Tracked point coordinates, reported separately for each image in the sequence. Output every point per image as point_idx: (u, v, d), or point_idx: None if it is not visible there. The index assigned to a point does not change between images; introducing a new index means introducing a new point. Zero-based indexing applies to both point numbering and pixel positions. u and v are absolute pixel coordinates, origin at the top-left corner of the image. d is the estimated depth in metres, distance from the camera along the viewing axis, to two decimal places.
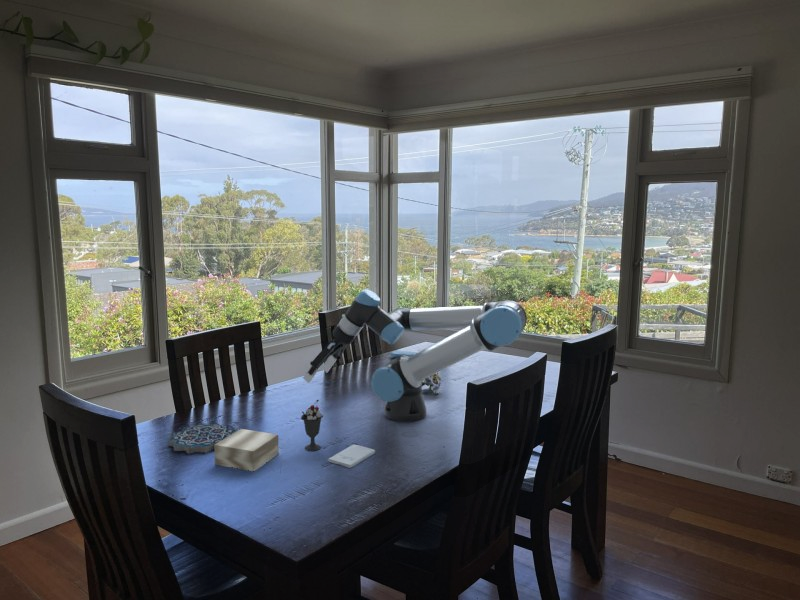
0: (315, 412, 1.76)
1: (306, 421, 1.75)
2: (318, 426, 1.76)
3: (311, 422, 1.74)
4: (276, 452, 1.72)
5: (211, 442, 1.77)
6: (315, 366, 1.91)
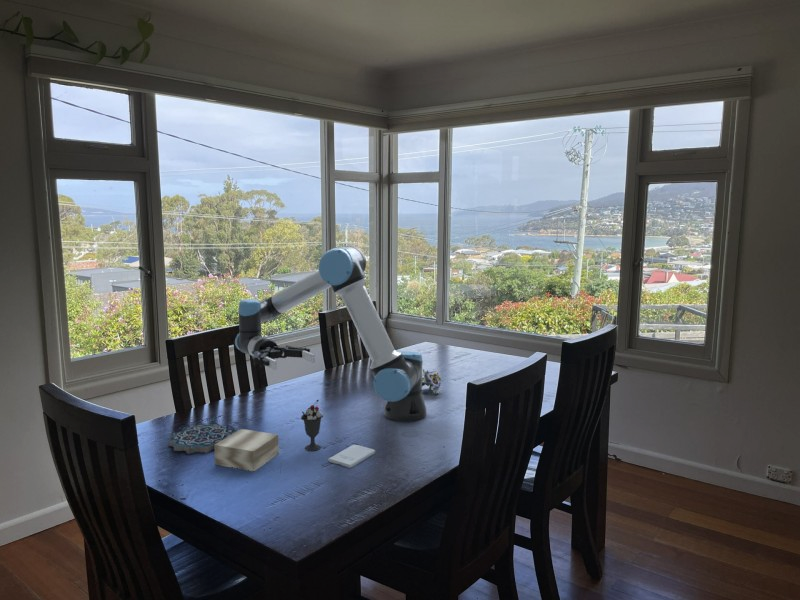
0: (315, 412, 1.76)
1: (306, 421, 1.75)
2: (318, 426, 1.76)
3: (311, 422, 1.74)
4: (276, 452, 1.72)
5: (211, 442, 1.77)
6: None
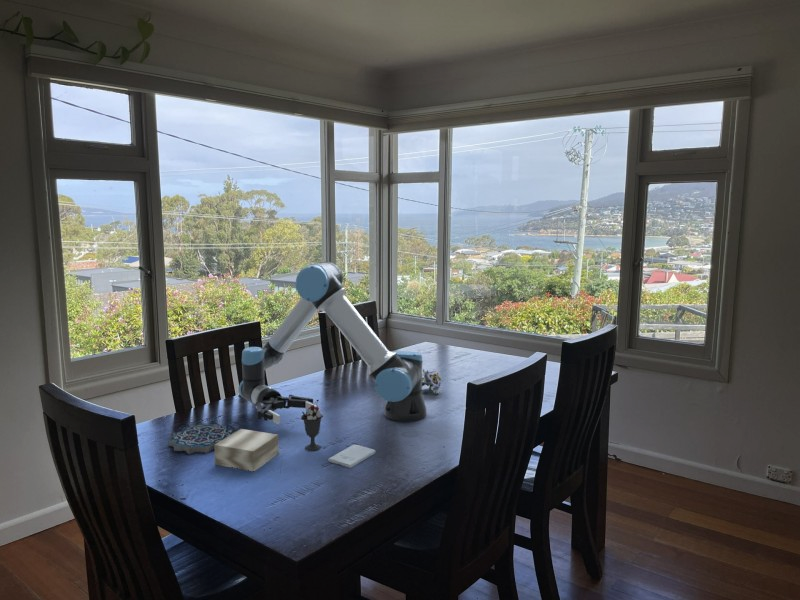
0: (315, 412, 1.76)
1: (306, 421, 1.75)
2: (318, 426, 1.76)
3: (311, 422, 1.74)
4: (276, 452, 1.72)
5: (211, 442, 1.77)
6: None
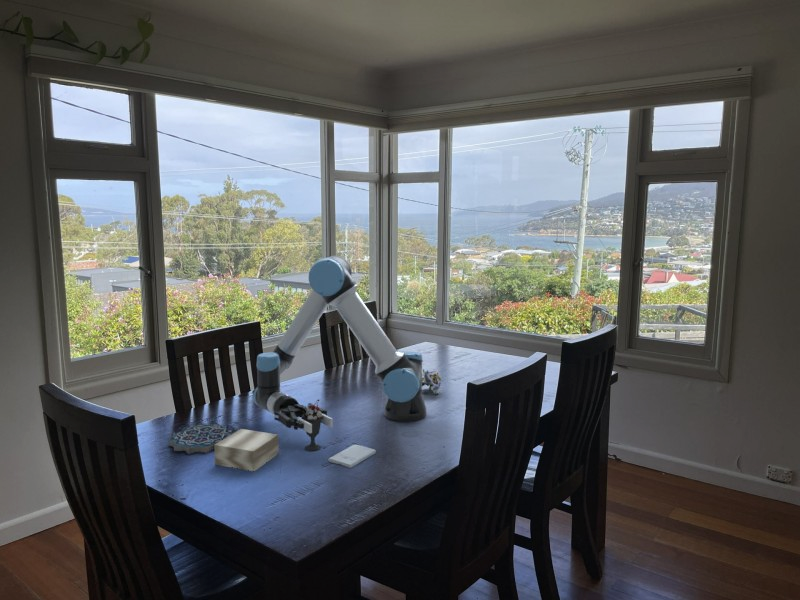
0: (316, 412, 1.76)
1: None
2: (318, 426, 1.76)
3: (311, 422, 1.74)
4: (276, 452, 1.72)
5: (211, 442, 1.77)
6: (287, 421, 1.75)
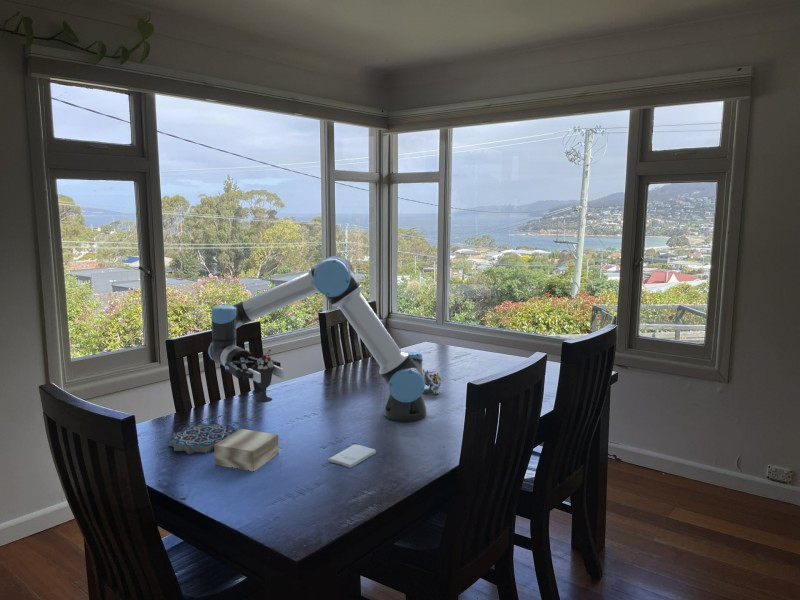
0: (266, 362, 1.68)
1: None
2: (269, 377, 1.69)
3: (261, 372, 1.67)
4: (276, 452, 1.72)
5: (211, 442, 1.77)
6: (236, 371, 1.67)
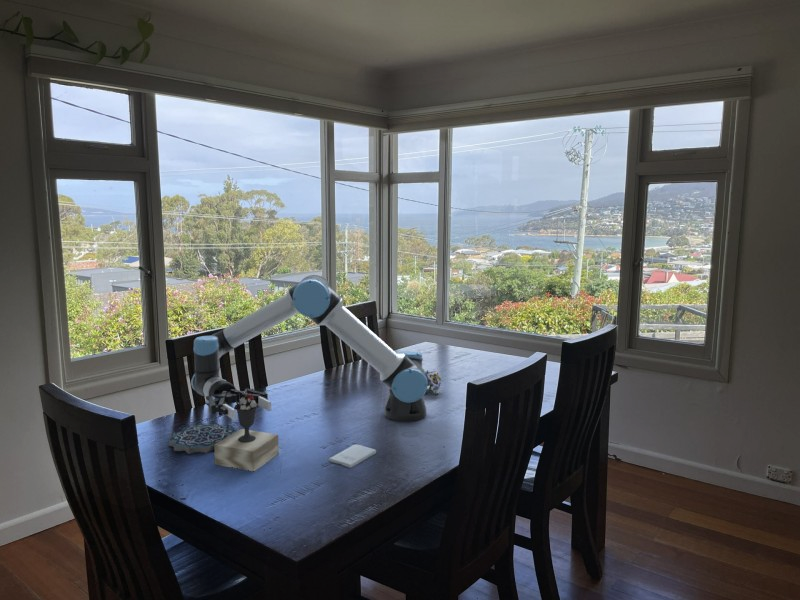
0: (249, 402, 1.66)
1: (239, 411, 1.65)
2: (252, 416, 1.67)
3: (244, 413, 1.65)
4: (276, 452, 1.72)
5: (211, 442, 1.77)
6: (211, 407, 1.65)
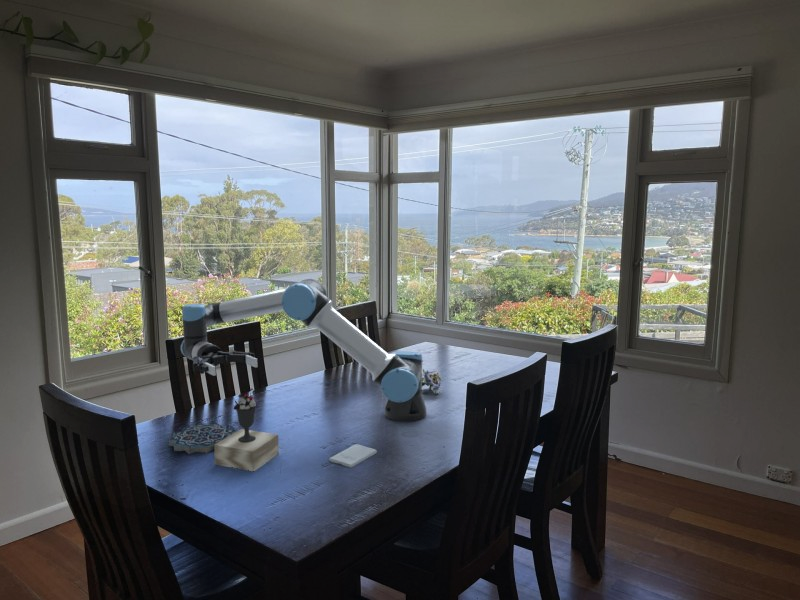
0: (249, 402, 1.66)
1: (238, 411, 1.65)
2: (252, 416, 1.67)
3: (243, 412, 1.65)
4: (276, 452, 1.72)
5: (211, 442, 1.77)
6: (193, 365, 1.76)
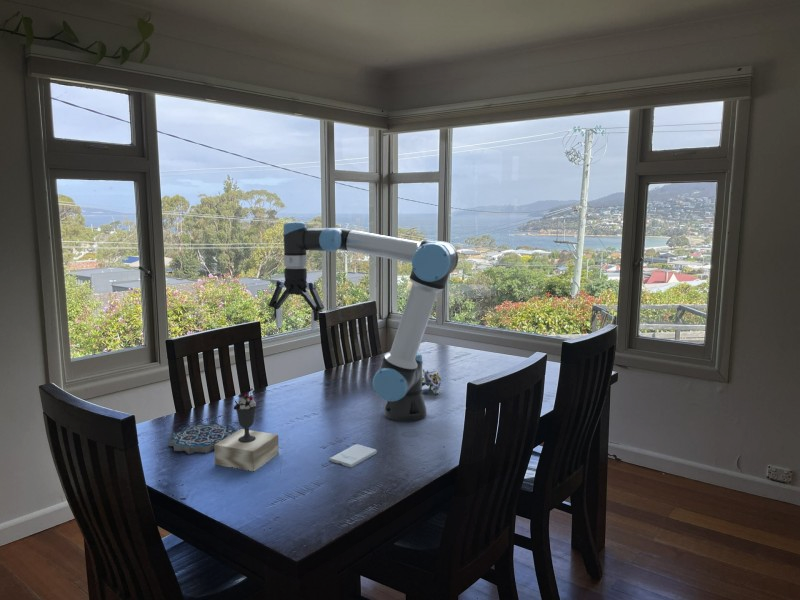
0: (249, 402, 1.66)
1: (238, 411, 1.65)
2: (252, 416, 1.67)
3: (243, 412, 1.65)
4: (276, 452, 1.72)
5: (211, 442, 1.77)
6: (323, 306, 1.97)
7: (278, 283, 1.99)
